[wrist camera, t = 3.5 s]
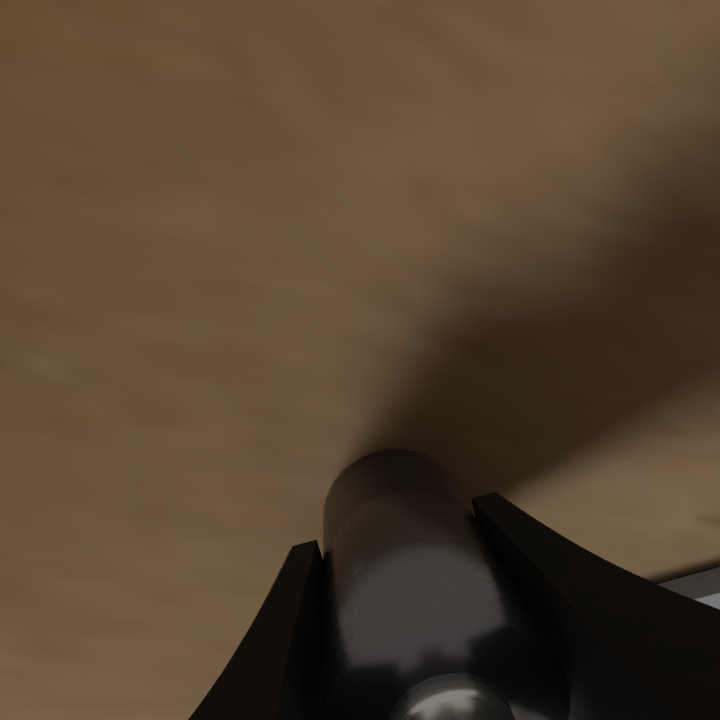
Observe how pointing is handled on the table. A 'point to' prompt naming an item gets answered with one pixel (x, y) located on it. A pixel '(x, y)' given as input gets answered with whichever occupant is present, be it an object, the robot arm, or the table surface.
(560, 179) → the table surface
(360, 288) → the table surface
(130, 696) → the table surface
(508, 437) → the table surface
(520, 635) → the cell
